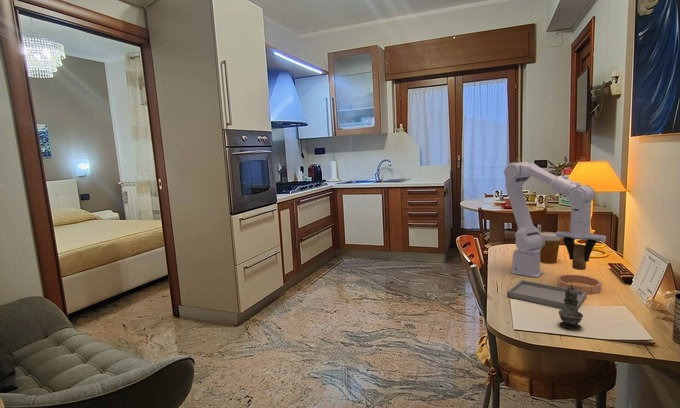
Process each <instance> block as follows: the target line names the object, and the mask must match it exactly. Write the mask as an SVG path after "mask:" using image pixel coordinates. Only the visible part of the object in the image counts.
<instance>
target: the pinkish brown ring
mask: <svg viewBox="0 0 680 408" xmlns="http://www.w3.org/2000/svg"><path fill="white" fill-rule="evenodd" d="M570 283H581V284H586V285H577V284H572V286H573V288H575V289H576V290H579V291H585V292H586V295H595V294H599V293H601V291H602V288H603V287H602V284H603V283H602V281H600V280H599V279H598V278H595V277H593V276H588V275H583V274H582V275H581V274H562V275H559V276H558V277H557V278H556V286H557V287H563V288H568V287H571V284H570ZM587 284H588V285H587Z"/></svg>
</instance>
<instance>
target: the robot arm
mask: <svg viewBox="0 0 680 408" xmlns="http://www.w3.org/2000/svg"><path fill="white" fill-rule="evenodd" d="M503 173H504V176H505V177H504V178H505V189H506V192H507V196H508V200H509V203H510V206H511V209H512V210H511V211H512V213H513V216H514V219H515V222H516V226H517V231H516V232H515V233H514V237H515V246H516V248H517V249H514V251H513V253H512V263H511V264H512V267H511V268H512V269H511V274H514V275H520V276H526V277H532V278H539V277H540V276H541V275H542V274H544V270H541V261H540V251H541V248H542V247H543V246H544V244H545V240H544V238H543V236H542V235H541V234H540V232H541V231H540V229H539V228H537V227H536V226H534V223H533V219H532V216H531V214H530V211H529V207H528V205H527V204H528V203H527V201H526V198H525V195H524V191H523V185H524V184H525V183H526V182H527V181H528V180H529V179H530V178H531V177H532V178H535V179H537V180H539V181H541V182H544V183H545V184H548V185H550V187H551V189H552V191H554V192H556V193H558V194H560V195H562V196H564V197H566V198H567V199H568V202H569V203H570V207H571V208H570V229H569V231H561V230H560V231H559V230H558V231H556V232H555V233H556V238H559V237H560V238H561V239H562V238H563V239H562V242H563V243H564V246H565V248H566V250H567V253H568V255H569V257H568V258H569V260H572V258H573V245H574V244H575V240H581V241H585V244H584V245H586V255H585V262H586V263H588V262H589V261H590V255H591V253H592V251H593V249H594V247H595V245H596V244H597V242H599V243H606V241H607V236H606V235H602V234H595V233H591V221H592V216H591V214H592V201H593V200H594V199H595V197H596V191H595V189H594V188H593V187H591V186H590V185H588V184H586V185H582V184H581V182H579V181H577V182H576V181H574V180H572V179H570V178H569V176H567V175H558V176H556V175H554V174H552V173H550V172H549V171H547V170H545V169H543V168H542V167H540V166H538V165H537V164H536V163H532V162H531V161H528V160H527V161H523V162H522V161H521V162H520V161H519V162H509V163H507V166H506V167H505V168H504V171H503Z"/></svg>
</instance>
